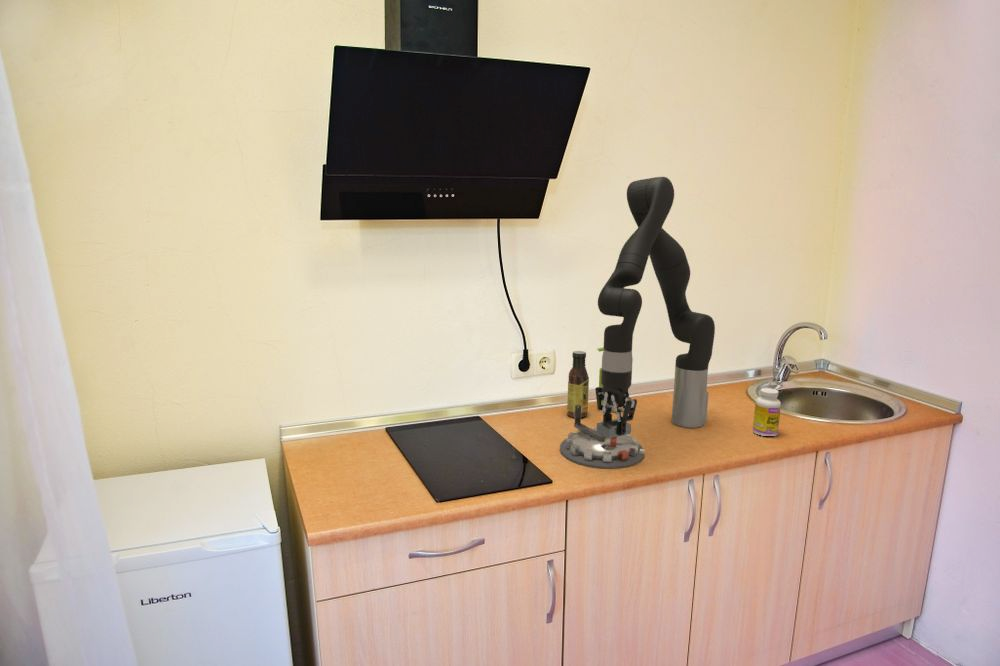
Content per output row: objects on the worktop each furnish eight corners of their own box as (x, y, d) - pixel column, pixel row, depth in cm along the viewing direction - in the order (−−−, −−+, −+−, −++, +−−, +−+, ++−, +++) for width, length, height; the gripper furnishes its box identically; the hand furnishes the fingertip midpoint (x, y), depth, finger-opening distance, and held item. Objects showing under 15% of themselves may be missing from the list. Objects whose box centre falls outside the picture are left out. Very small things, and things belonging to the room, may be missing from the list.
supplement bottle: (765, 439, 180) (769, 395, 177) (747, 431, 186) (751, 388, 183) (783, 435, 183) (787, 392, 180) (764, 428, 188) (769, 385, 186)
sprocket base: (608, 430, 185) (608, 425, 185) (662, 458, 167) (662, 452, 166) (543, 444, 175) (544, 439, 175) (593, 475, 156) (594, 469, 156)
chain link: (618, 427, 169) (618, 418, 169) (630, 433, 165) (631, 424, 165) (596, 432, 166) (597, 422, 165) (609, 438, 162) (609, 429, 161)
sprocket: (602, 427, 185) (603, 400, 183) (653, 453, 167) (655, 423, 165) (547, 438, 176) (548, 410, 174) (595, 467, 158) (596, 436, 156)
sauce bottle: (586, 419, 194) (589, 355, 190) (566, 418, 196) (567, 354, 191) (588, 412, 201) (590, 350, 196) (568, 411, 202) (570, 349, 198)
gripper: (647, 372, 158) (644, 438, 161) (610, 358, 170) (607, 420, 173) (623, 376, 154) (620, 443, 158) (587, 362, 166) (585, 425, 170)
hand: (613, 431), depth 165 cm, fingers closed on chain link, 4 cm apart
